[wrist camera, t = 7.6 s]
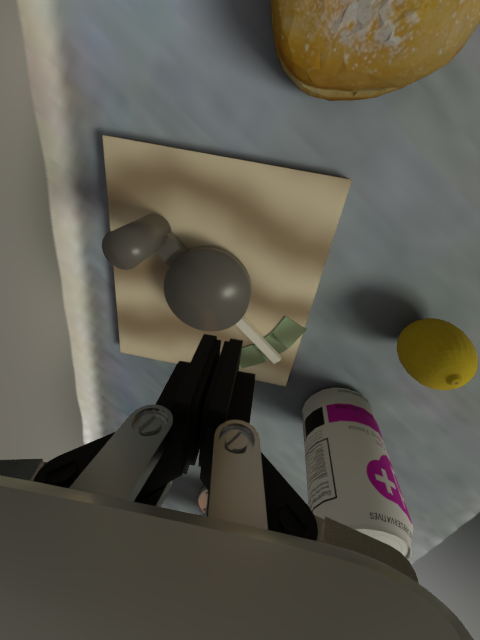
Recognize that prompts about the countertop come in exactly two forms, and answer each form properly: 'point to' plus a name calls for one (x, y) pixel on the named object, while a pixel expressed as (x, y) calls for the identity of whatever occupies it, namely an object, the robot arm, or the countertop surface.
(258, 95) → the countertop surface
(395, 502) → the supplement can
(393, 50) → the bread
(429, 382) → the lemon
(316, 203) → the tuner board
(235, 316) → the dark grey handled piece
